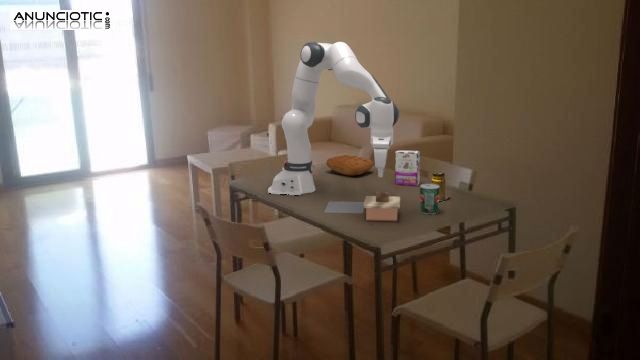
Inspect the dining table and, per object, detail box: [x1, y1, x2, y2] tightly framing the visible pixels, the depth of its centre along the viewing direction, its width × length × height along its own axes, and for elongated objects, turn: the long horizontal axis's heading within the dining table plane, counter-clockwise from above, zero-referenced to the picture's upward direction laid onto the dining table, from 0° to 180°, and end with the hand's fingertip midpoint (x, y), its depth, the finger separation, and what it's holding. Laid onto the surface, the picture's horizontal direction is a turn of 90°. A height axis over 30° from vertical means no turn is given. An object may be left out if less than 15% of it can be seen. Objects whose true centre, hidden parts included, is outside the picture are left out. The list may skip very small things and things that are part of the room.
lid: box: [363, 191, 401, 210], centre depth 241 cm, size 14×14×4 cm
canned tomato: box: [419, 183, 440, 215], centre depth 247 cm, size 8×8×11 cm
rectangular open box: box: [365, 208, 398, 222], centre depth 242 cm, size 12×12×6 cm
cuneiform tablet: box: [325, 154, 374, 176], centre depth 315 cm, size 22×17×8 cm
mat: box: [324, 201, 365, 214], centre depth 255 cm, size 16×16×1 cm
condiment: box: [430, 171, 446, 201], centre depth 264 cm, size 7×8×12 cm
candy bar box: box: [394, 149, 421, 187], centre depth 289 cm, size 11×5×16 cm, turn 68°
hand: (381, 173), depth 238 cm, fingers open, 8 cm apart
